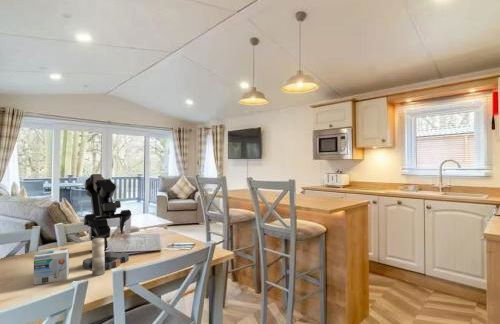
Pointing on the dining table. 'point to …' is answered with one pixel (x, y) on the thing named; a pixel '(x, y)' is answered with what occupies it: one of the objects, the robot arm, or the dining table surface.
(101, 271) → the pin
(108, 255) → the pixel heart plate
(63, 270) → the light bulb box
